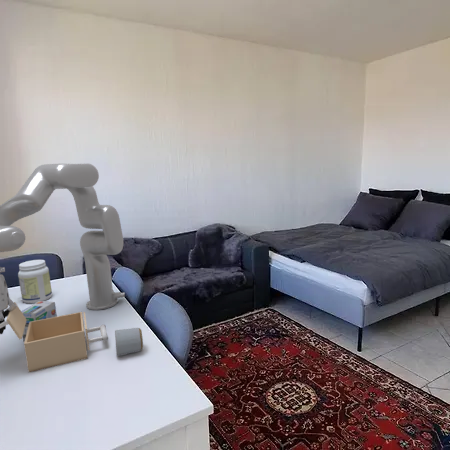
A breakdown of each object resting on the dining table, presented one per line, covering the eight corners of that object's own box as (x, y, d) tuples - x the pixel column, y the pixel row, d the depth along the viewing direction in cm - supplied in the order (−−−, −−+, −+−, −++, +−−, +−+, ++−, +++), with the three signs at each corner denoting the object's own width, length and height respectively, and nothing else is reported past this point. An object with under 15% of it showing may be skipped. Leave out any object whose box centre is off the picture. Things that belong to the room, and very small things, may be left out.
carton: (105, 331, 127) (102, 307, 126) (110, 352, 113) (107, 325, 111) (33, 347, 119) (29, 321, 117) (28, 372, 104) (23, 343, 102)
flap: (21, 338, 103) (-2, 351, 101) (26, 319, 116) (6, 330, 114) (8, 319, 101) (-16, 331, 99) (14, 301, 114) (-7, 312, 112)
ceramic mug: (144, 354, 111) (142, 331, 110) (117, 360, 108) (114, 336, 107) (140, 339, 121) (138, 318, 120) (115, 344, 118) (112, 322, 117)
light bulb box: (39, 343, 121) (34, 313, 119) (22, 342, 123) (17, 312, 121) (59, 328, 131) (55, 300, 129) (43, 327, 133) (39, 300, 131)
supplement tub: (44, 292, 171) (39, 257, 168) (57, 296, 164) (52, 261, 160) (17, 301, 161) (11, 264, 158) (30, 306, 154) (24, 268, 151)
